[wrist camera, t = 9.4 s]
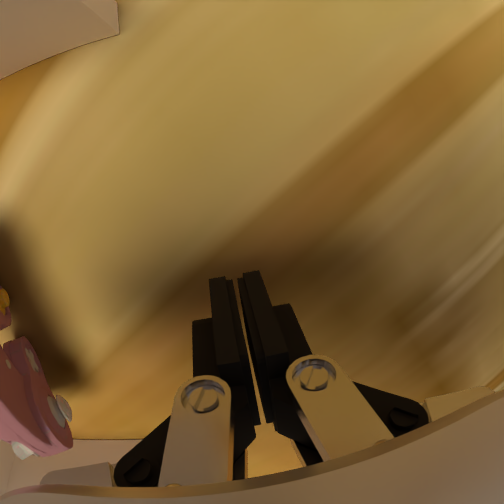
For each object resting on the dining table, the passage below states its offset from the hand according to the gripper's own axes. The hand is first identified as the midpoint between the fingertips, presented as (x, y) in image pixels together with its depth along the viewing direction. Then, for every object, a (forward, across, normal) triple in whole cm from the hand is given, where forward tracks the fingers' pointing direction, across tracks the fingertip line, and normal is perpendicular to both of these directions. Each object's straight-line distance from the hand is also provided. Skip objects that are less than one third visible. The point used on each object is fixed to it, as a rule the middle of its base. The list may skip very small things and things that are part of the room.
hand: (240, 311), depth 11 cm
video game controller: (+2, +11, 0) cm, 11 cm away
